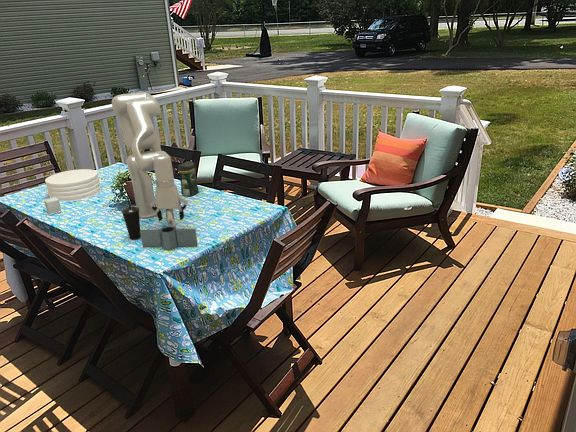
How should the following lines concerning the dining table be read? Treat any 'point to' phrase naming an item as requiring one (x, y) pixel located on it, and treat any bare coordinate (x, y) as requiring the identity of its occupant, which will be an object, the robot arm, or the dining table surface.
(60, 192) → the plate stack
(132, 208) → the drinking cup
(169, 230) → the hinge
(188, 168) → the coffee jar
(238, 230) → the dining table surface
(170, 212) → the hinge pin
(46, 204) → the product box
